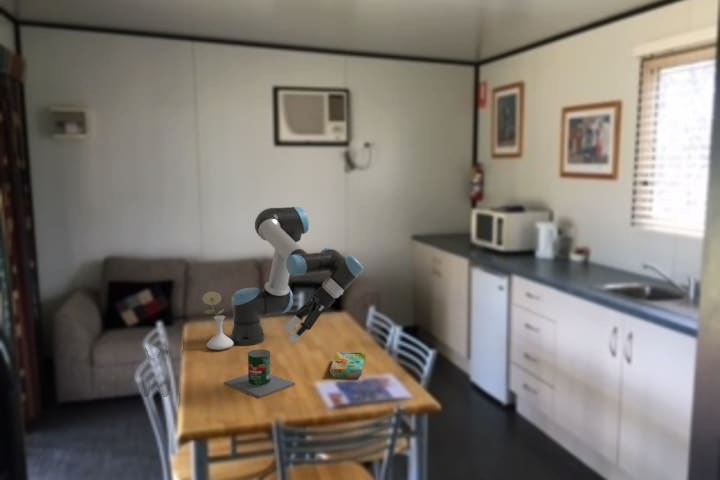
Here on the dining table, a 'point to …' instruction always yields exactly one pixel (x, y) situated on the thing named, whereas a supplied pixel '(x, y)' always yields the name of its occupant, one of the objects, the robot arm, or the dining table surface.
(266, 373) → the canned tomato
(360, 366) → the puzzle game
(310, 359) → the dining table surface
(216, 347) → the flower in vase
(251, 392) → the mat
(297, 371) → the dining table surface
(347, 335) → the dining table surface
